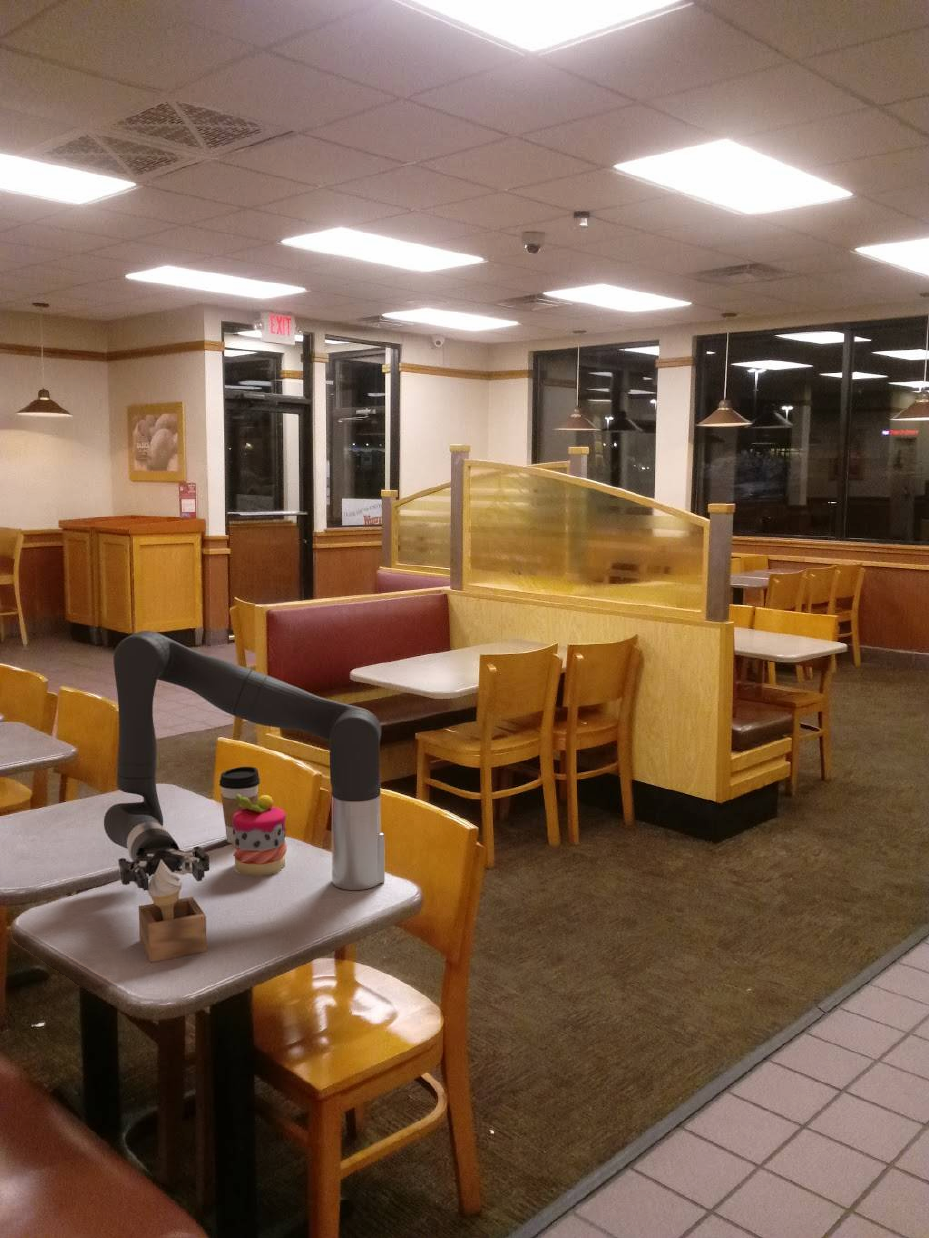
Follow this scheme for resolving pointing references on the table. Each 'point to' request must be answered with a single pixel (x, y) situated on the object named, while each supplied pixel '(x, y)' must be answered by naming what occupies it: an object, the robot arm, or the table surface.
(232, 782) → the coffee cup
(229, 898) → the table surface
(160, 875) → the ice cream cone
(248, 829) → the cake
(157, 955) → the cone holder
